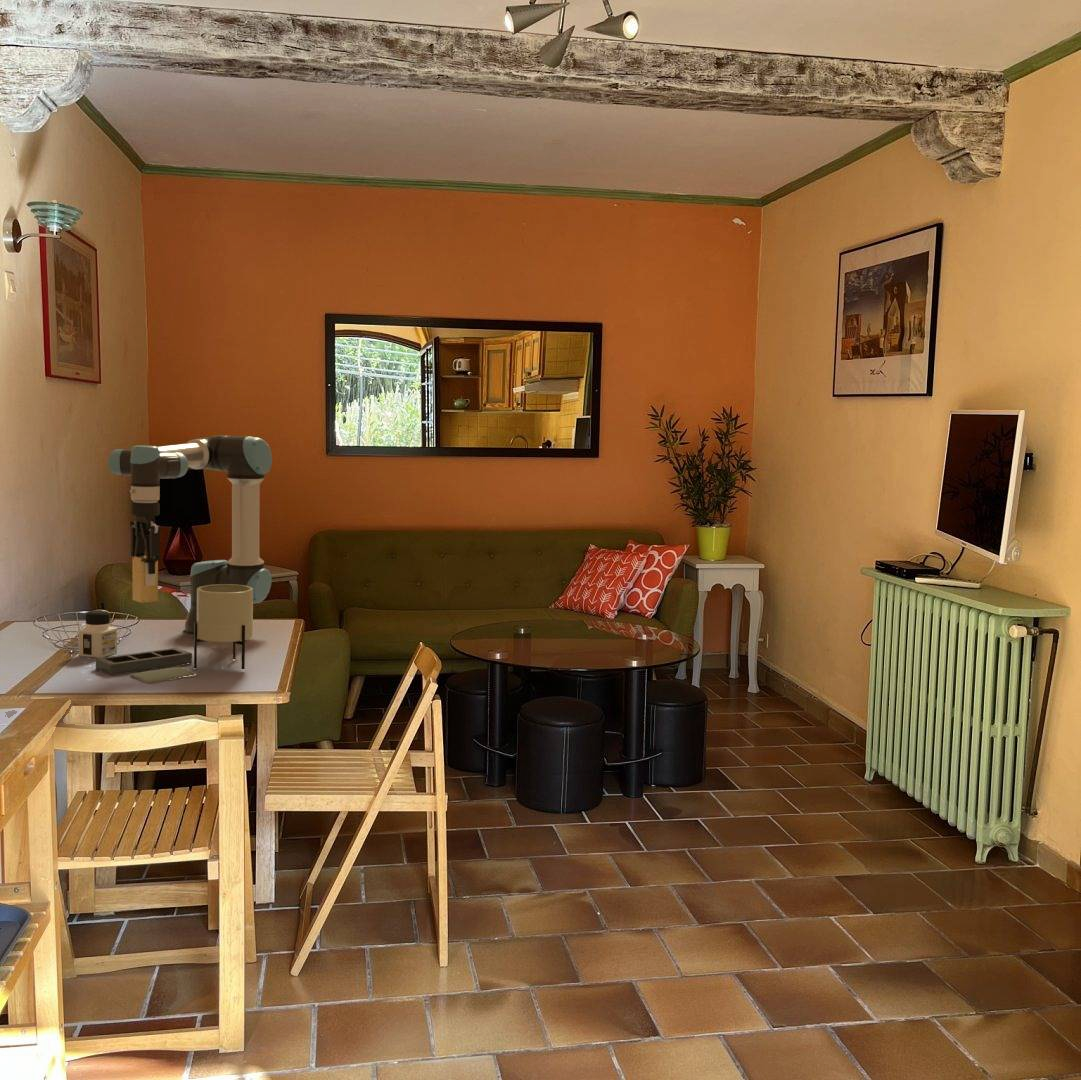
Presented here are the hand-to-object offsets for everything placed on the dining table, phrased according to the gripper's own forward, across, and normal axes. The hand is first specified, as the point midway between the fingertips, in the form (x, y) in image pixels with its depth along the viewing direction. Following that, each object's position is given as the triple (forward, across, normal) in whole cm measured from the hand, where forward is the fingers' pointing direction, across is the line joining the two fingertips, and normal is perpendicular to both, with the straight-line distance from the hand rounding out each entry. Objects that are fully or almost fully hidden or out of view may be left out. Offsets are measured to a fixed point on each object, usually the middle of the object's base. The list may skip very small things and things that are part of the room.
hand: (145, 583), depth 296 cm
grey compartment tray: (+24, 0, 0) cm, 24 cm away
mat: (+24, +13, -1) cm, 27 cm away
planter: (+24, +14, +17) cm, 32 cm away
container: (+24, -21, -4) cm, 32 cm away
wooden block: (+5, 0, 0) cm, 5 cm away
